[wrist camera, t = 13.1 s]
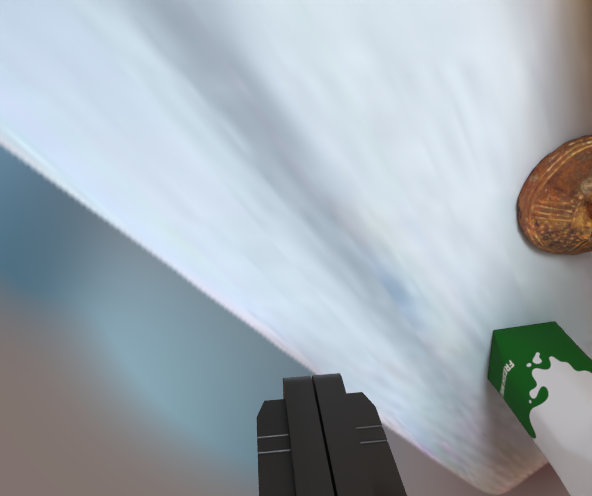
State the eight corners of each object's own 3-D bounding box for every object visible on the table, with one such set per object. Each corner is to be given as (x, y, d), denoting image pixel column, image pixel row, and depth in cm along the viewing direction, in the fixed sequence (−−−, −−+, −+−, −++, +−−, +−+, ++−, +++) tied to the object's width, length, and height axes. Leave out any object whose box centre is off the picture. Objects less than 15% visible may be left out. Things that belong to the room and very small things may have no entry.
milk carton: (551, 374, 53) (710, 548, 35) (478, 385, 52) (600, 567, 34) (564, 312, 49) (749, 472, 31) (484, 324, 48) (626, 493, 30)
